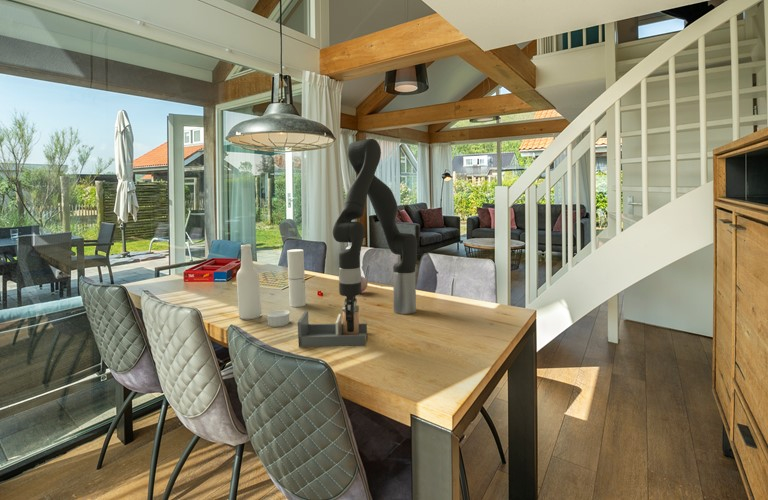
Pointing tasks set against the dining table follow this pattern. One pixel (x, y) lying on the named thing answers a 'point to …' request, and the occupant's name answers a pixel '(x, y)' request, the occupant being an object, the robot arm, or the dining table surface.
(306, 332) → the lane
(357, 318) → the jar
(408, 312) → the robot arm
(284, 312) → the ramekin
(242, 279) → the alcohol
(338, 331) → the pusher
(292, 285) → the cylindrical container
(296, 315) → the dining table surface
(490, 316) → the dining table surface
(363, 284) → the decorative fruit
